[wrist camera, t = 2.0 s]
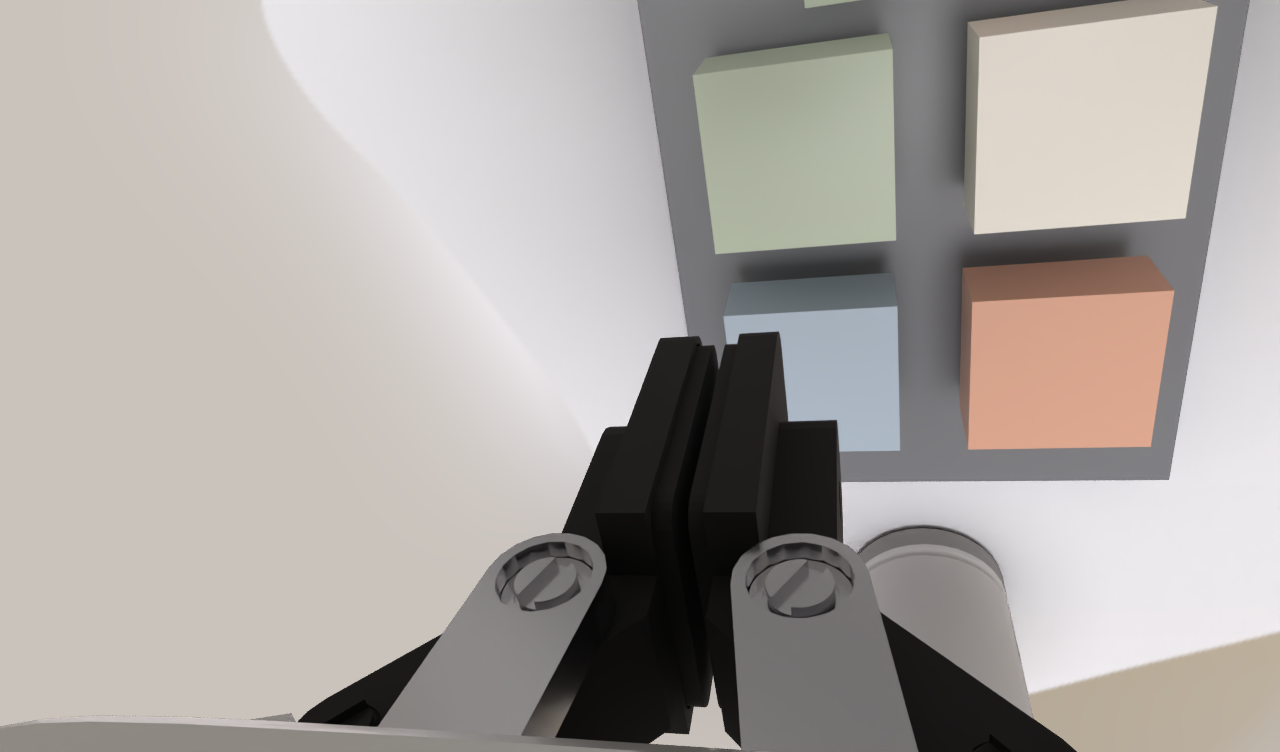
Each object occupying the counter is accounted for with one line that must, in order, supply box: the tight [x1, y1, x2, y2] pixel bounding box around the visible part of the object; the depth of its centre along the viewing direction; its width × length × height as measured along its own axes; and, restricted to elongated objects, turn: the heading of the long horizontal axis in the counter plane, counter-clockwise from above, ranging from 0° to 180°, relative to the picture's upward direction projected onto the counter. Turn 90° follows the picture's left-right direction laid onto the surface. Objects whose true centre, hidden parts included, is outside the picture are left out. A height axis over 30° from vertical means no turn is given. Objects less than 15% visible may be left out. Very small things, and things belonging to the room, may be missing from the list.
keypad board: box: [637, 0, 1250, 482], centre depth 27 cm, size 16×20×2 cm
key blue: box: [723, 273, 900, 452], centre depth 27 cm, size 5×5×2 cm
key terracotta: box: [959, 256, 1174, 450], centre depth 25 cm, size 5×5×2 cm
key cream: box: [964, 0, 1218, 234], centre depth 22 cm, size 5×5×2 cm
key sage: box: [693, 33, 896, 254], centre depth 24 cm, size 5×5×2 cm
